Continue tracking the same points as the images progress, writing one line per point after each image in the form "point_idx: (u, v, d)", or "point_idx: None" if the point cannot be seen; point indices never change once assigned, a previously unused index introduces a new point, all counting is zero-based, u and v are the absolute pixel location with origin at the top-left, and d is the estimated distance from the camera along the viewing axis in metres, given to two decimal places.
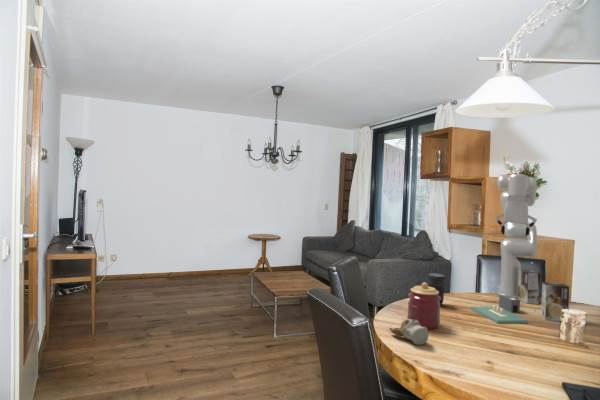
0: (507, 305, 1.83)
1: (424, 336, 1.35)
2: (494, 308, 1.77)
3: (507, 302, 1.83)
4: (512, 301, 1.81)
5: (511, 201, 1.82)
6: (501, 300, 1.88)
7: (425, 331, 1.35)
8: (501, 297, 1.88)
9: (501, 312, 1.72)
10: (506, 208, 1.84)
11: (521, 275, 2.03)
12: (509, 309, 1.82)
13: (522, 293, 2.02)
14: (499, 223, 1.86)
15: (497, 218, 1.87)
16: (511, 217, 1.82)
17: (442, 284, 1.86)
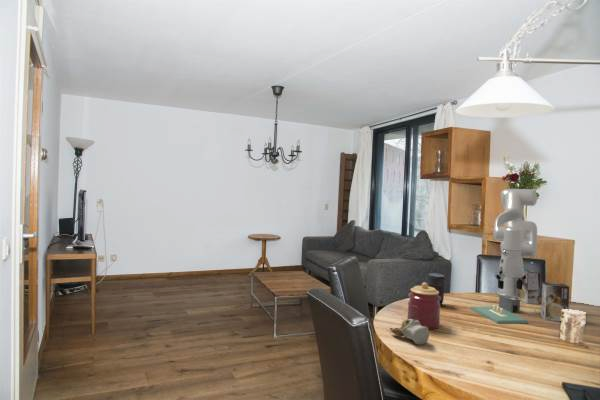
0: (507, 305, 1.83)
1: (425, 336, 1.36)
2: (494, 308, 1.77)
3: (507, 302, 1.83)
4: (512, 301, 1.81)
5: None
6: (501, 300, 1.88)
7: (426, 331, 1.35)
8: (501, 297, 1.88)
9: (501, 312, 1.72)
10: None
11: None
12: (509, 309, 1.82)
13: (522, 293, 2.02)
14: None
15: None
16: None
17: (442, 284, 1.86)
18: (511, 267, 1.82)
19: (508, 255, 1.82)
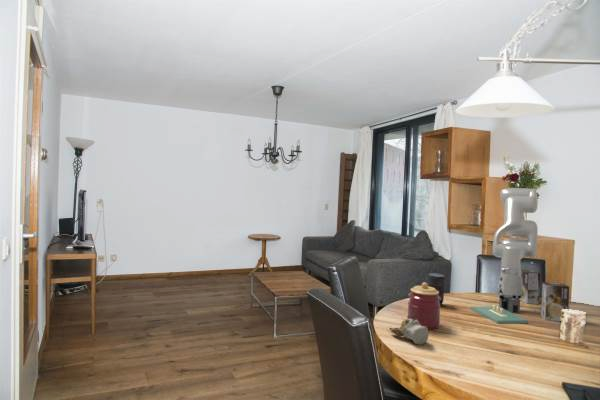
0: (507, 305, 1.83)
1: (424, 335, 1.36)
2: (494, 308, 1.77)
3: (507, 302, 1.83)
4: (512, 301, 1.81)
5: None
6: (501, 300, 1.88)
7: (425, 331, 1.36)
8: None
9: (501, 312, 1.72)
10: None
11: (521, 275, 2.03)
12: (509, 309, 1.82)
13: None
14: None
15: None
16: None
17: (442, 284, 1.86)
18: (510, 285, 1.82)
19: (507, 273, 1.83)
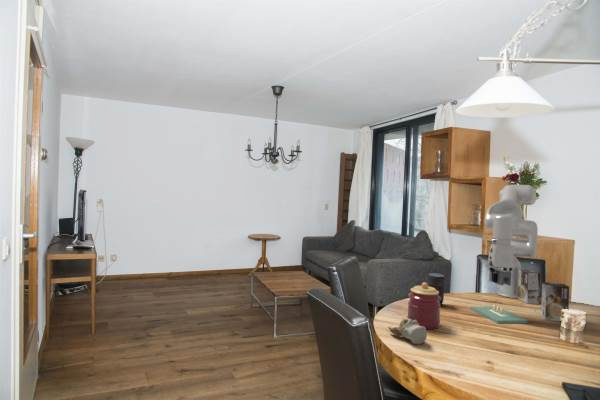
0: (498, 278, 1.73)
1: (422, 335, 1.36)
2: (494, 308, 1.77)
3: None
4: (503, 273, 1.70)
5: None
6: (491, 273, 1.77)
7: (423, 330, 1.36)
8: None
9: (501, 312, 1.72)
10: None
11: (521, 275, 2.03)
12: (500, 282, 1.71)
13: (522, 293, 2.02)
14: None
15: None
16: None
17: (442, 284, 1.86)
18: (501, 257, 1.72)
19: (498, 244, 1.72)
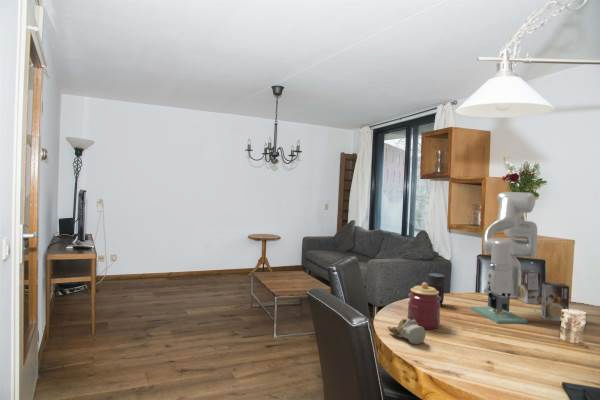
0: (496, 303, 1.73)
1: (420, 335, 1.36)
2: None
3: (496, 300, 1.73)
4: (501, 299, 1.70)
5: None
6: None
7: (421, 330, 1.36)
8: None
9: (501, 312, 1.72)
10: None
11: (521, 275, 2.03)
12: (498, 307, 1.71)
13: (522, 293, 2.02)
14: None
15: None
16: None
17: (442, 284, 1.86)
18: (499, 282, 1.72)
19: (496, 270, 1.72)
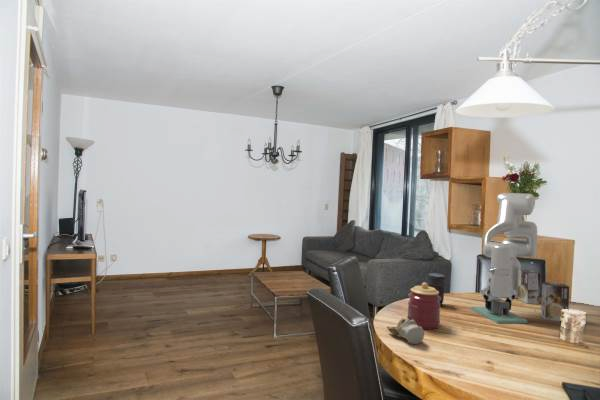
0: (496, 308, 1.73)
1: (418, 335, 1.36)
2: None
3: (496, 305, 1.73)
4: (501, 304, 1.70)
5: None
6: None
7: (419, 330, 1.36)
8: None
9: None
10: None
11: (521, 275, 2.03)
12: (498, 312, 1.71)
13: (522, 293, 2.02)
14: None
15: None
16: None
17: (442, 284, 1.86)
18: (499, 287, 1.72)
19: (496, 274, 1.72)
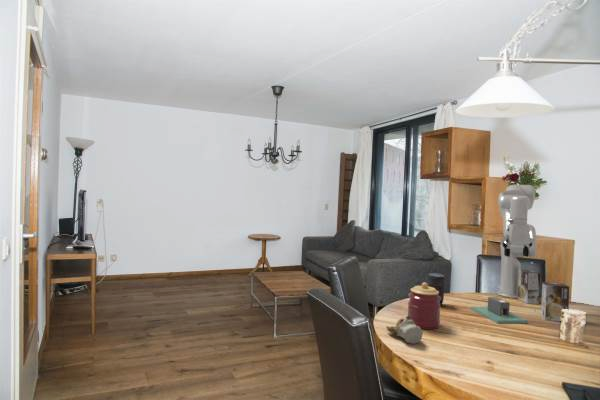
0: (496, 308, 1.73)
1: (416, 335, 1.36)
2: None
3: (496, 305, 1.73)
4: (501, 304, 1.70)
5: None
6: (490, 302, 1.77)
7: (417, 330, 1.36)
8: (490, 299, 1.77)
9: None
10: None
11: (521, 275, 2.03)
12: (498, 312, 1.71)
13: (522, 293, 2.02)
14: None
15: None
16: None
17: (442, 284, 1.86)
18: (517, 235, 1.84)
19: (514, 223, 1.85)
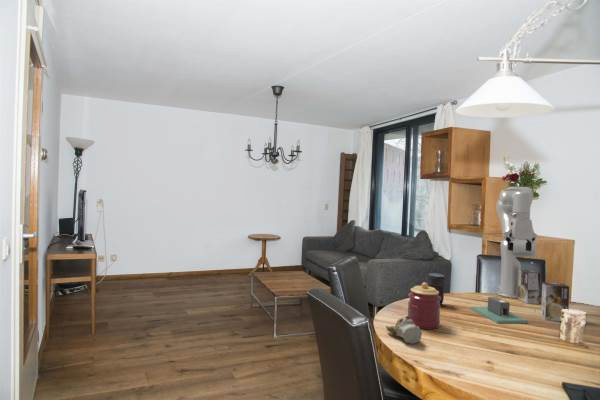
0: (496, 308, 1.73)
1: (415, 335, 1.36)
2: None
3: (496, 305, 1.73)
4: (501, 304, 1.70)
5: None
6: (490, 302, 1.77)
7: (416, 330, 1.36)
8: (490, 299, 1.77)
9: None
10: None
11: (521, 275, 2.03)
12: (498, 312, 1.71)
13: (522, 293, 2.02)
14: None
15: None
16: None
17: (442, 284, 1.86)
18: (521, 229, 1.86)
19: (518, 218, 1.87)
